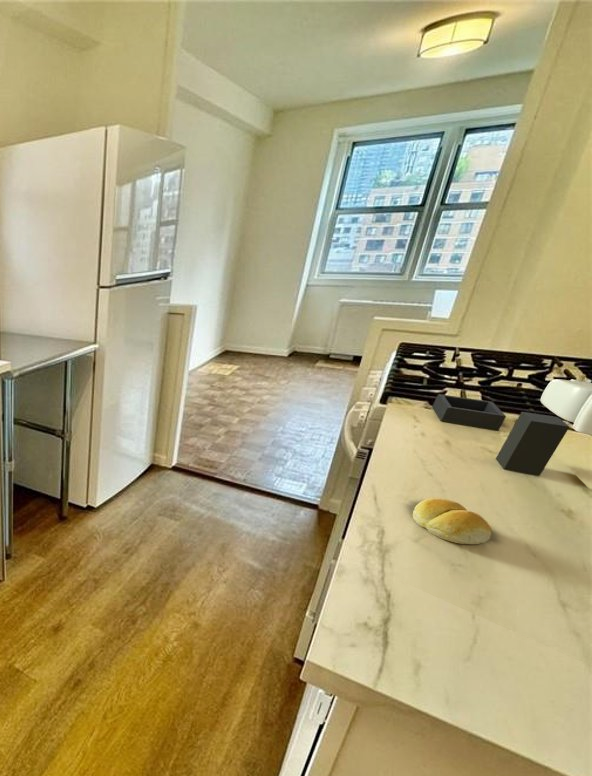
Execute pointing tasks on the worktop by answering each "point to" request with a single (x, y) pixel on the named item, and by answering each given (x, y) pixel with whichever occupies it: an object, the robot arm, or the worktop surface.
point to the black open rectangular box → (468, 412)
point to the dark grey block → (531, 443)
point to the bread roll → (451, 521)
